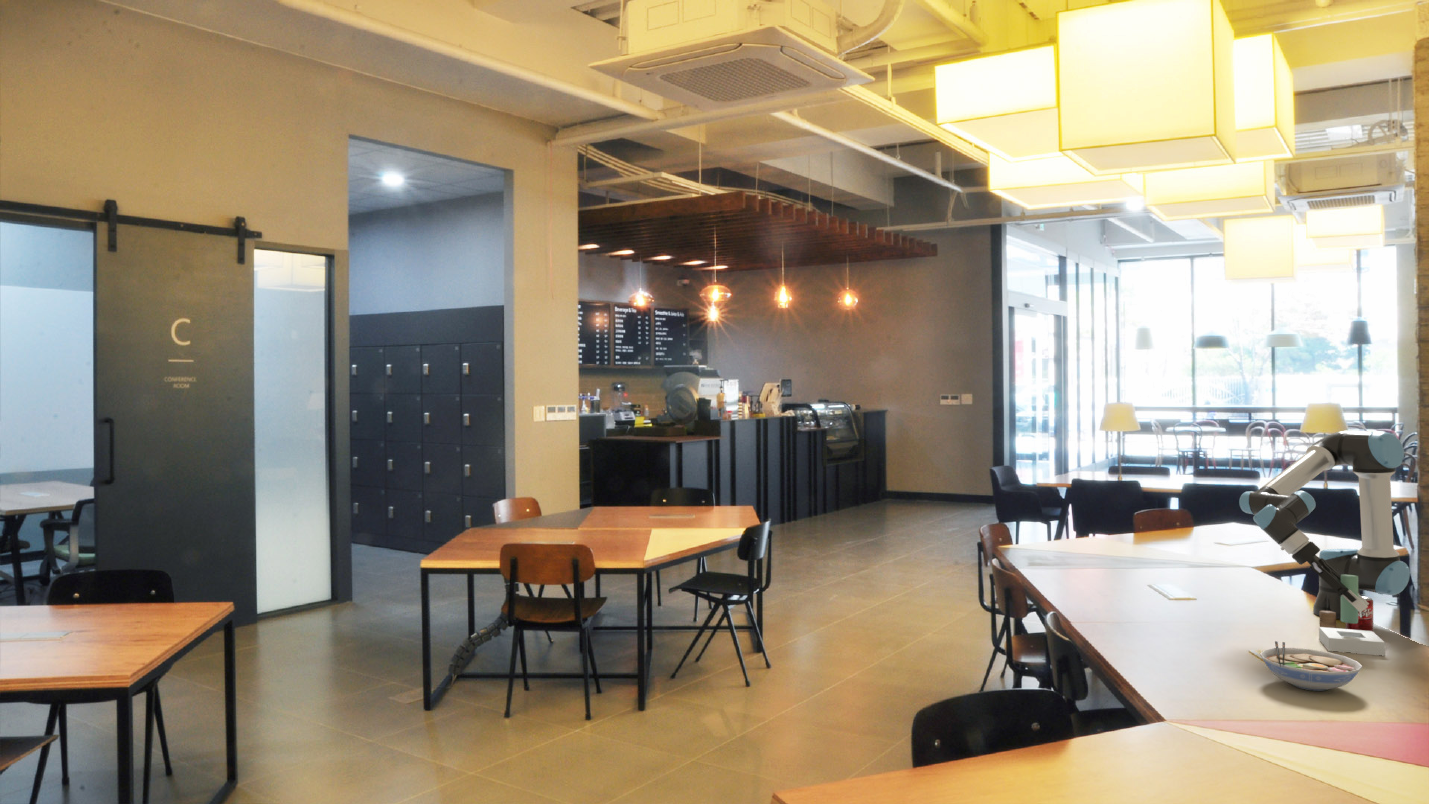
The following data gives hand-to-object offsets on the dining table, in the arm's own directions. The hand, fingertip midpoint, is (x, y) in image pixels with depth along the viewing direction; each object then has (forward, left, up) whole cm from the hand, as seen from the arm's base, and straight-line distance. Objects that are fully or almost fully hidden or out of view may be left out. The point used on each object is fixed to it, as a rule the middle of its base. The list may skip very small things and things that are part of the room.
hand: (1364, 607), depth 279 cm
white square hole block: (-1, -3, -13) cm, 13 cm away
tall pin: (-1, -4, -5) cm, 6 cm away
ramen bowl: (+47, -22, -13) cm, 53 cm away
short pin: (-17, -6, -13) cm, 22 cm away
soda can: (-19, +3, -13) cm, 23 cm away
